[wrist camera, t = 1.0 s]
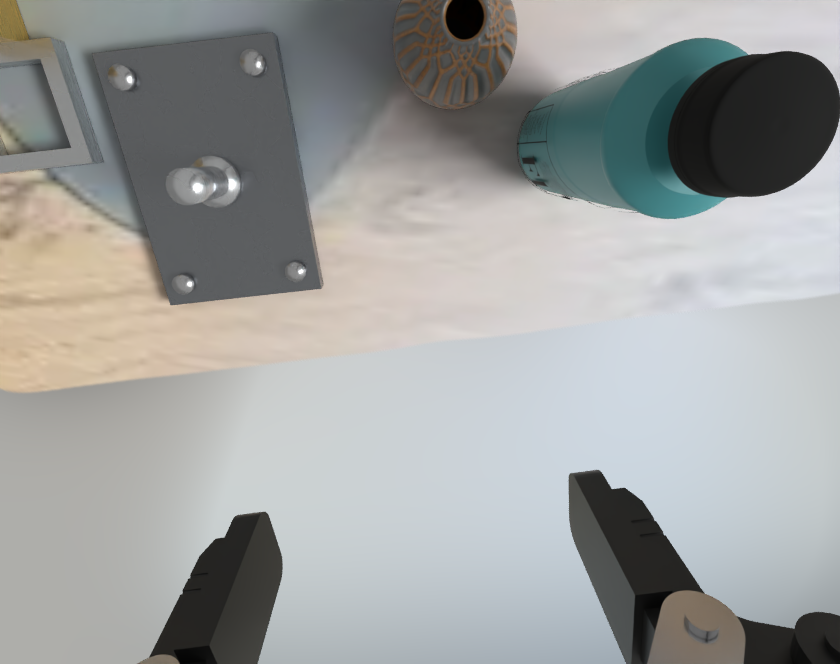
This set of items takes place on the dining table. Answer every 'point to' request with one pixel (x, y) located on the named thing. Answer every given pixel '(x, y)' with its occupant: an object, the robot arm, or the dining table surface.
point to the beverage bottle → (683, 129)
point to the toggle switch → (214, 165)
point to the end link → (9, 47)
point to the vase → (454, 48)
